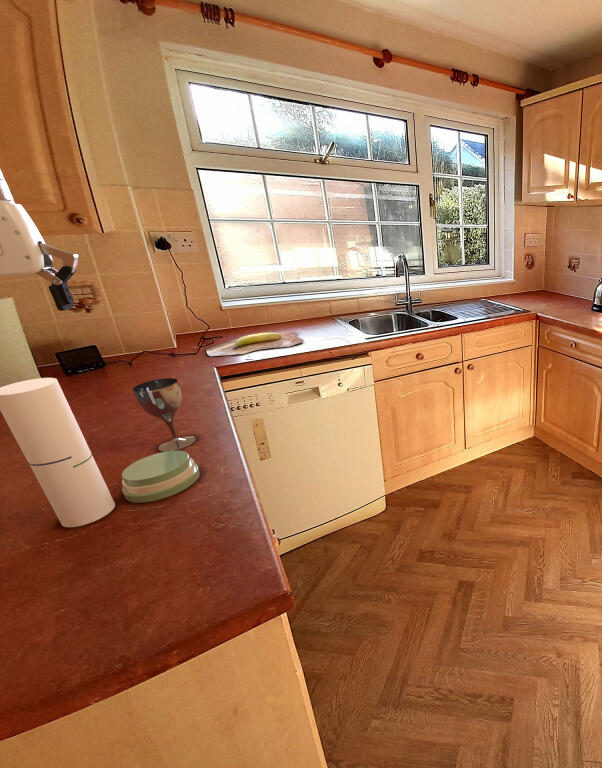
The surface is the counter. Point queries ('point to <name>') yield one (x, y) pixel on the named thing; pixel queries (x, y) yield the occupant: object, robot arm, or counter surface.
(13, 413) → the cylindrical container
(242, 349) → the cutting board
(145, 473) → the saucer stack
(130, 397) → the counter surface
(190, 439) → the wine glass
